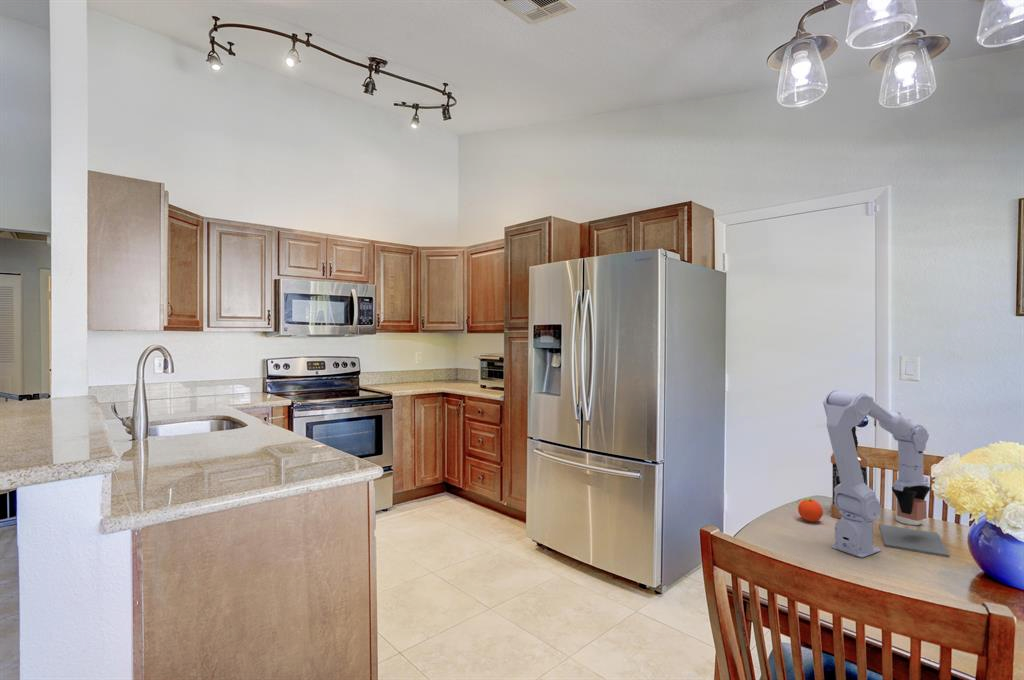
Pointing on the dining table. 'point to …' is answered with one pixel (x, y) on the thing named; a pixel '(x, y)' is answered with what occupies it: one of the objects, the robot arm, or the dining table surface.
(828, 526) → the dining table surface
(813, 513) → the clementine
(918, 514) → the brick cube
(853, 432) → the whiskey bottle
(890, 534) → the slate mat
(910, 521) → the can
